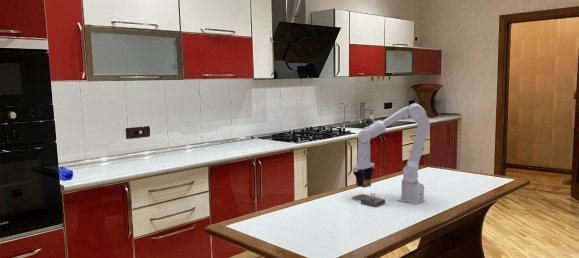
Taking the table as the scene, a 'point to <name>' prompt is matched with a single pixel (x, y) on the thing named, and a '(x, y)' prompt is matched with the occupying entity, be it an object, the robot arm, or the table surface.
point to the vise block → (372, 201)
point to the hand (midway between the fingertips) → (363, 184)
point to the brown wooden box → (365, 183)
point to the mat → (360, 196)
